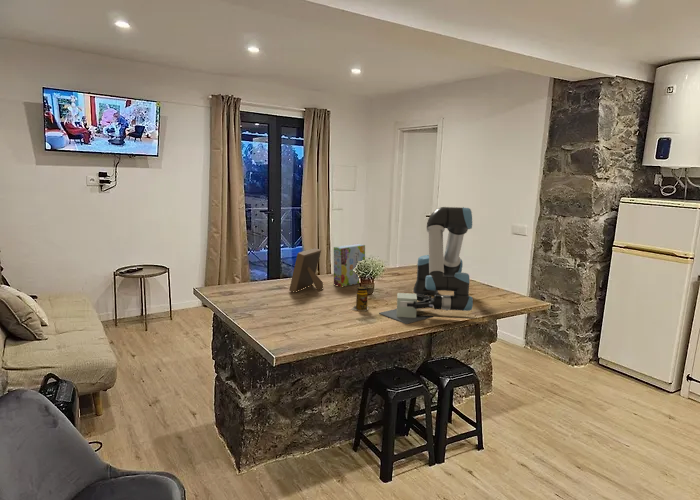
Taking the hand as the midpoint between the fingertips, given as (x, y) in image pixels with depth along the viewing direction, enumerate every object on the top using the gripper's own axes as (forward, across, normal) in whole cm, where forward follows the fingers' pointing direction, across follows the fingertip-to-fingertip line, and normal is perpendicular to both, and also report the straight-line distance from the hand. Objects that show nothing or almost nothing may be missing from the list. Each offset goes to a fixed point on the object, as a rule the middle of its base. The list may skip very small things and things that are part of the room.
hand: (400, 300), depth 241 cm
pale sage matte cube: (-3, 0, -8) cm, 8 cm away
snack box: (+34, +62, -8) cm, 71 cm away
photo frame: (+57, +42, -8) cm, 71 cm away
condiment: (+22, +8, -8) cm, 24 cm away
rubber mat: (-3, 0, -8) cm, 9 cm away
